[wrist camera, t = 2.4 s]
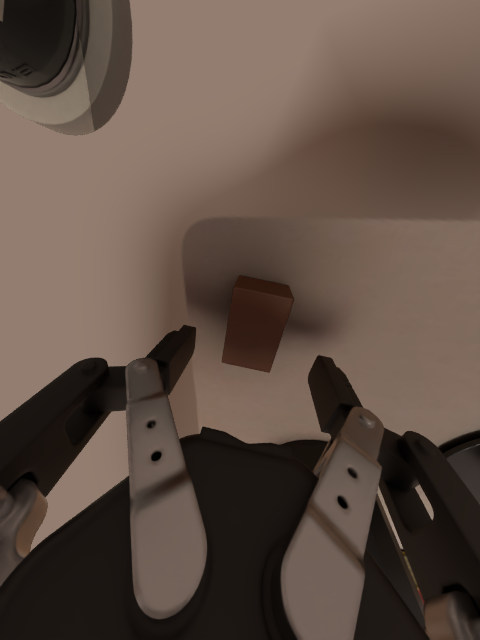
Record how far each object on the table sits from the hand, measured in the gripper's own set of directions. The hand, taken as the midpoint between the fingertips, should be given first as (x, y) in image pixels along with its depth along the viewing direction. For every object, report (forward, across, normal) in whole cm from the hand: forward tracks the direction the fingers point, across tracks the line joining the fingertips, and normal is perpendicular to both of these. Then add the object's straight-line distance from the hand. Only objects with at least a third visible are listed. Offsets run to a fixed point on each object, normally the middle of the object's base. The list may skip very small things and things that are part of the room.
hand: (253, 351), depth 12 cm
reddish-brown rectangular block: (+5, 0, 0) cm, 5 cm away
